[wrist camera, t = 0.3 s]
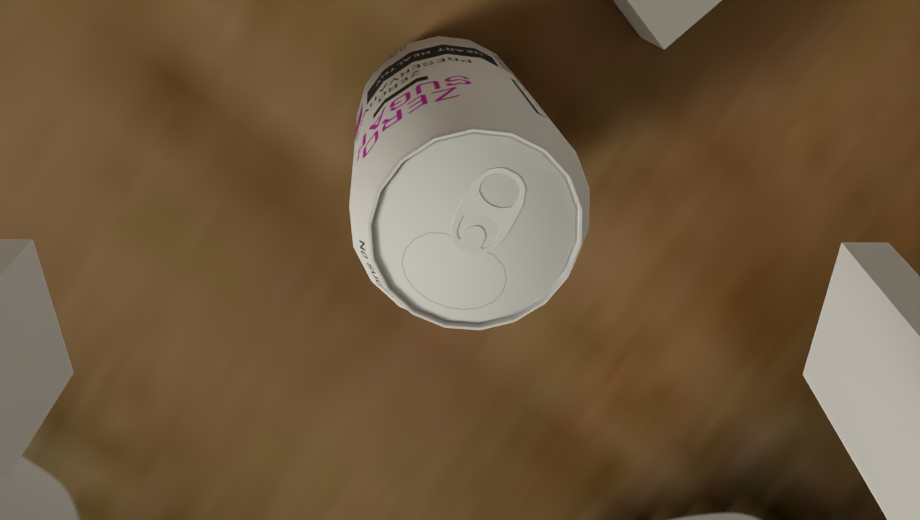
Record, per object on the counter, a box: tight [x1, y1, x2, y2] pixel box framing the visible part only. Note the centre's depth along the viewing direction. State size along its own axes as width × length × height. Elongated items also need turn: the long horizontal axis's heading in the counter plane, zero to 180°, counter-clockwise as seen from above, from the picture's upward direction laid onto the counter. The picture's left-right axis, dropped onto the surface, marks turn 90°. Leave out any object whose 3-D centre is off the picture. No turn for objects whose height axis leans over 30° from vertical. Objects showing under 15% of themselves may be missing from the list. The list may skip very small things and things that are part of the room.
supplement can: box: [349, 36, 590, 330], centre depth 33 cm, size 8×8×15 cm
